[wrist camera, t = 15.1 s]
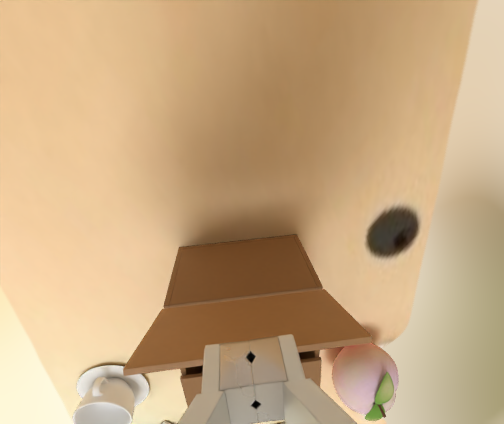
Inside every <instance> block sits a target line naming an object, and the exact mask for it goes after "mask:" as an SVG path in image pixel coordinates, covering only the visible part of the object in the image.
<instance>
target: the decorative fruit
mask: <svg viewBox="0 0 504 424" xmlns="http://www.w3.org/2000/svg"><path fill="white" fill-rule="evenodd" d="M332 379H333V384H334V387H335V390H336V392H337V394H338V396H339V397H340V399H341V400H342V402H343V403H344V404H345V405H346V406H347V407H348V408H350V409H351V410H353V411H355V412H358V413H361V414H367V415H366V417H365V419H366V420H368V421H377V420H379V419H381V418H382V417H384V418H385V417H386V415H385V412H387V411H388V410H389V409H390V408H391V407H392V406H393V404H394V402H395V397H396V394H395V392H396V390H397V387H398V370H397V367H396V364H395V362H394V361H393V359H392V358H391V357H390V356H389V355H388V354H387V353H386V352H385V351H384V350H383V349H381V348H380V347H378V346H376V345H374V344H371V343H366V344H359V345H351V346H345V347H344V348H343V349H342V350H341V351H340V352H339V354H338V355H337V357H336V359H335V361H334V364H333V369H332Z"/></svg>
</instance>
